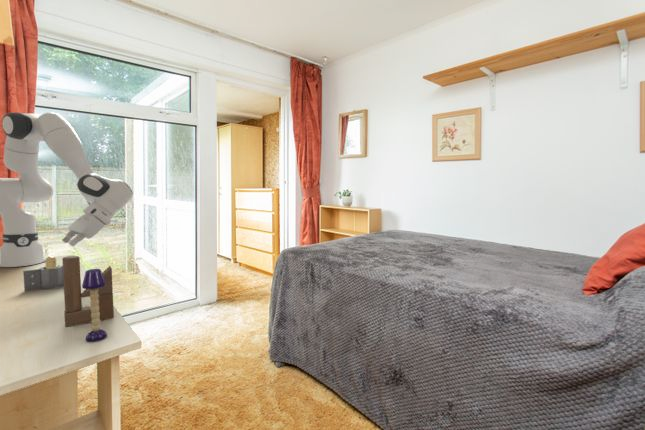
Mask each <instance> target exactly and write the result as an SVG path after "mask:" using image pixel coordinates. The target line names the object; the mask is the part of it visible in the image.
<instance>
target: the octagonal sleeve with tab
mask: <svg viewBox="0 0 645 430" xmlns="http://www.w3.org/2000/svg"><path fill="white" fill-rule="evenodd" d="M56 265H57V264H56ZM22 272H23V273H22V274H23V287H24V288H23V289H24V290H23V291H24V292H29V291H35V290H36V291H37V290H40V289H42V290H52V289H53V290H54V289H58V288H61V287H64V281H63V265H57V268H53V269H46V266H42V267H40V268H36V269H29V270H23V271H22Z"/></svg>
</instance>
